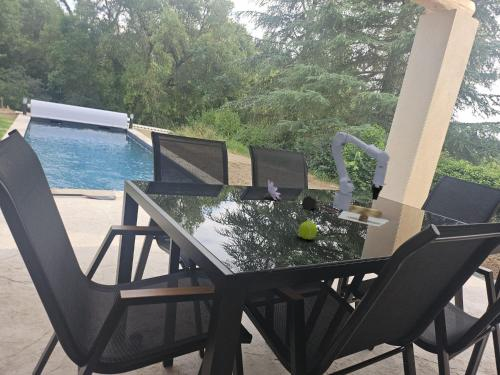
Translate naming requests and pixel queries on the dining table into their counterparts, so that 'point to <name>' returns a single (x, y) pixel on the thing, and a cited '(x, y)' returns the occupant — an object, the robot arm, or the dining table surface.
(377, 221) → the slab
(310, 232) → the tennis ball
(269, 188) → the water lily
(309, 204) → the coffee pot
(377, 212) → the rod
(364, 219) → the ridge
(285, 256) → the dining table surface
